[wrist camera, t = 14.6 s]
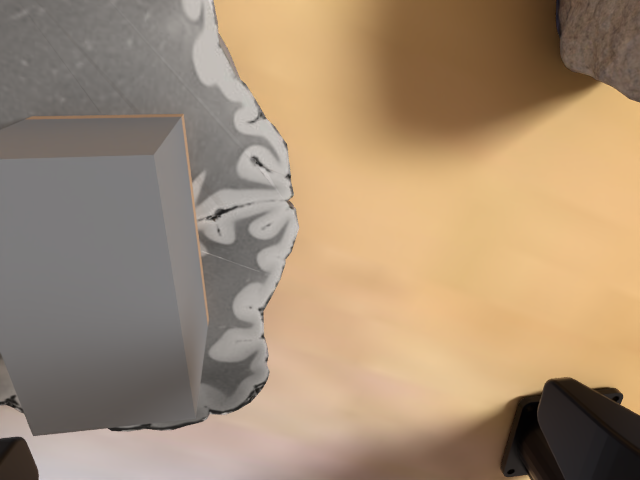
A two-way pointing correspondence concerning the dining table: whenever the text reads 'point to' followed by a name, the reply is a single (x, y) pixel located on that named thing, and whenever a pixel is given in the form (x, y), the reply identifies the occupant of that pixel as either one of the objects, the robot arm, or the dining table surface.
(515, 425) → the robot arm
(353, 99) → the dining table surface
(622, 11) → the decorative stone
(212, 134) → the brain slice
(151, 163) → the block
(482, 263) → the dining table surface
